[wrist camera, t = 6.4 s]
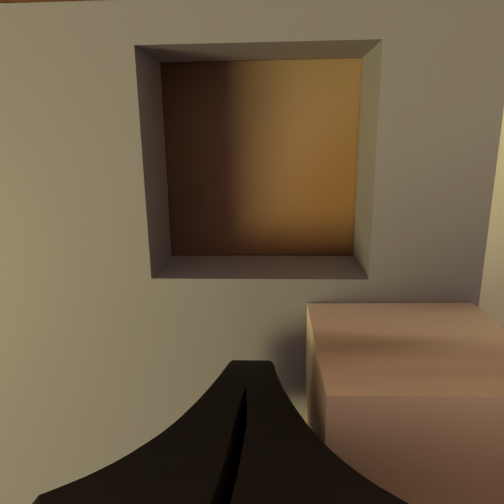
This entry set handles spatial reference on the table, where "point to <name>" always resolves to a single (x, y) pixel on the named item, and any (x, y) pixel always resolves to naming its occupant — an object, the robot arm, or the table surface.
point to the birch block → (410, 396)
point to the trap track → (216, 266)
